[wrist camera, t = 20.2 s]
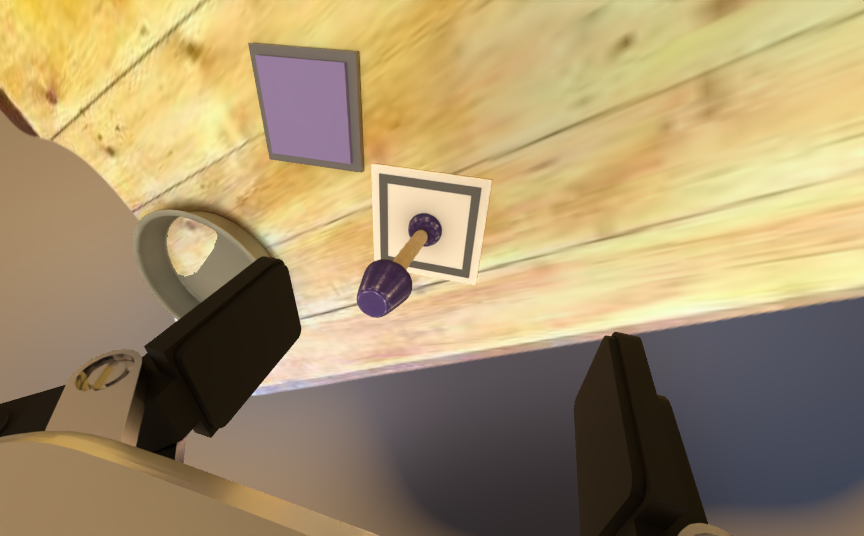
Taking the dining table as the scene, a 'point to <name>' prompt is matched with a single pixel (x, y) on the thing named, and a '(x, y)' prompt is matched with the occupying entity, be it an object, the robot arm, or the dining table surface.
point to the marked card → (440, 197)
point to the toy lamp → (396, 270)
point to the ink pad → (310, 104)
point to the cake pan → (220, 267)
